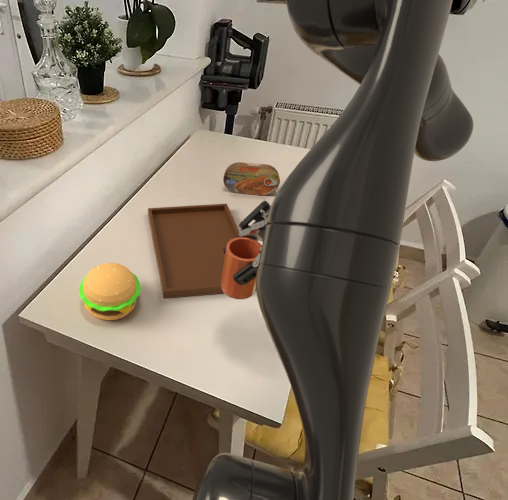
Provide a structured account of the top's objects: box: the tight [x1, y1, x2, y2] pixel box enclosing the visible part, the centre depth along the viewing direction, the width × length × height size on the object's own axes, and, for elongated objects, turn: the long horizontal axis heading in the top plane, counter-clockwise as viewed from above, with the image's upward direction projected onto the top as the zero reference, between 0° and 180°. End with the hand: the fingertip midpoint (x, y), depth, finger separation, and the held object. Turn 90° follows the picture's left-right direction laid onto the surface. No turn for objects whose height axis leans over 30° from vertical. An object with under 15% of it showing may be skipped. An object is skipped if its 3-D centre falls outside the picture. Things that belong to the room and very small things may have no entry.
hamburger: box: [78, 262, 142, 321], centre depth 84 cm, size 12×12×9 cm
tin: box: [222, 161, 281, 196], centre depth 117 cm, size 15×3×8 cm, turn 80°
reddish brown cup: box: [221, 237, 262, 300], centre depth 70 cm, size 6×6×8 cm
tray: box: [147, 203, 256, 299], centre depth 100 cm, size 30×21×2 cm
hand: (231, 267), depth 69 cm, fingers closed on reddish brown cup, 6 cm apart
